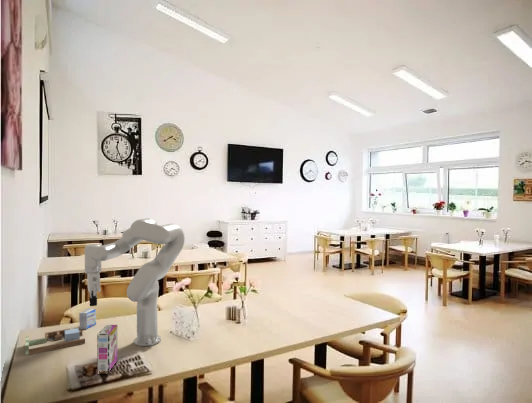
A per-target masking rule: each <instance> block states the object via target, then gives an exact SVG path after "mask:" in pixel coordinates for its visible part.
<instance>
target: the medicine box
mask: <svg viewBox="0 0 532 403" xmlns="http://www.w3.org/2000/svg"><path fill="white" fill-rule="evenodd" d="M78 316H79V319H78V320H79V329H80V330H89V329H90V328H92V327H94V326H95V324H96V325H97V310H96V308H88V309H85V310H83V311H81V312H79V314H78ZM88 328H89V329H88Z"/></svg>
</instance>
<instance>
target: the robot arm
mask: <svg viewBox="0 0 532 403" xmlns="http://www.w3.org/2000/svg"><path fill="white" fill-rule="evenodd" d="M157 223H158V222H156V220H155V219H153V218H150V217H149V218H147V217H146V218H139V219H137V220H135V221H133V222H132V224H131V225H130V227H128V228H127V229H126V230H124V231H123V232H122V235H121V237H120V238H119V239H117V240H116V241H114V242H112V243H107V244H103V245H100V244H99V243H90V244H87V245H85V247H84V273H85V274H86V276H87V278H86V279H87V280H86V281H87V282H86V284H87V290H88V293H89V306H90V307H96V306H98V296H97V295H98V293H100V292H101V278H100V277H101V275H100V273H101V272H102V262H105V261H109V260H112V259H115V258H118V257H120V256H122V255H123V254H125V253H127V252H129V251H130V250H131V249H132V248H134V247H135V246H137V245H138V244H140V243H141V242H143V241H146V242H149V243H153V244H156V245H163V246H162V247H161V248H160V250H159V251H158V253H157V255H156V256H155V257H154V259H152V260H150V261H148V262H145V263H144V264H142V265H141V267H139V268H138V270H137V271H136V273H135V274H134V276H133V277H132V279H131V280H130V282H129V284H128V286H127V288H126V296H127V297H128V299H129V300H130V301H131V302H135V303H136V337H135V338H134V339H133V344H134V345H135V346H138V347H151V346H154V345H156V344H159V343H160V342H161V341H162V337H161V336H160V335H159V334H158V296H159V290H160V286H159V280H161V279H164V277H166V275H167V274H168V272H169V270H170V269H171V268H172V266H173V264H174V263H175V261H176V259H177V258H178V256H179V255H180V253H181V252H182V250H183V248H184V244H185V233H184V230H183V228H182V227H181V226H179V225H178V224H176V223H169V224H168V223H167V224H163V225H159V224H157Z"/></svg>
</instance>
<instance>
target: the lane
mask: <svg viewBox="0 0 532 403" xmlns="http://www.w3.org/2000/svg"><path fill="white" fill-rule="evenodd" d="M70 329H71V328H64V329H60V330H55V331H48V332H45V333H44V337H40V338H35V339H30V337H29V336H25V356H27V355H32V354H39V353H43V352H48V351H52V350H54V351H55V350H58V349H63V348H68V347H73V346H77V345H78V346H79V345H82V344H86V338H80V339H78V340H73V341H68V342H65V341H63V342H59V343H53V344H48V345H42V346H37V347H33V348H30V346H33V345H39V344H44V343H45V344H46V343H48V342H50V341H61V340H63V339H65V330H70ZM79 332H80V337H83V331H82V330H79Z"/></svg>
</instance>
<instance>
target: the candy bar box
mask: <svg viewBox="0 0 532 403" xmlns="http://www.w3.org/2000/svg"><path fill="white" fill-rule="evenodd" d="M96 335H97V336H96V340H97V342H96V343H97V345H96V346H97V348H96V351H97V352H96V354H97V355H96V356H97V359H96V360H97V361H96V362H97V363H96V364H97V365H96V366H97V368H96V369H97V371H100V372H101V371H110V370H111V368H112V367H113V365H114V364H115V363H116V361H117V362H118V324H106V325H105V326H104V327H103V328H101V330H100V331H99V332H98V333H97V334H96ZM116 364H117V363H116ZM113 368H114V367H113ZM111 371H112V370H111Z"/></svg>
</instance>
